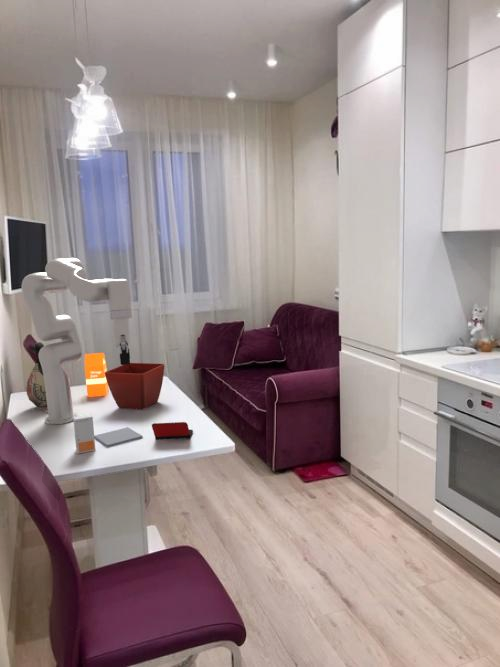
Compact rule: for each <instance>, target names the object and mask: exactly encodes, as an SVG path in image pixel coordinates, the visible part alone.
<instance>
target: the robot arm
mask: <svg viewBox="0 0 500 667" xmlns="http://www.w3.org/2000/svg"><path fill="white" fill-rule="evenodd" d="M44 270H45V271H43V272H33V273H30V274H28V275H26V276H25V277H24V278H23V279H22V282H21V292H22V296H23V299H24V301H25V302H26V305H27V306H28V309H29V311H30V316H31V320H32V324H33V326H34V330H35V334H36V335H37V337H38V339H39V340H40V341H42V342H48V341H49V342H50V341H56V340H60V339H61V341H59V342H52V343H49V344H46V345H44V347H42V348H41V349H40V351H39V361H40V364H41V367H42V370H43V375H44V383H45V391H46V399H47V408H48V409H47V417H45V419H44V423H45V424H47V425H62V424H67V423H71V422H74V420H73V417H74V416H78V414H77V413H76V412H74V409H73V398H72V391H71V390H72V389H71V381H70V375H69V373H68V372H67V370H66V369H65V368H64V366H66V365H70V364H73V363H77V362H79V361H80V360H82V357H83V347H82V346H83V345H82V343H81V339H80V335H79V332H78V331H79V330H78V328H77V325H76V322H75V321H74V319H73V318H72V317H71V316H70V315H67V314H60V315H59V314H58V315H56V314H55V311H54V308H53V305H52V303H51V302H50V300H48V298H47V297H45V296H44V295H46V294H47V295H48V294H54V293H63V292H65V291H67V290H69V292H70V293H71V294H72V296H74V297H75V298H77V299H79V300H82V301H85V302H88V303H93V302H101V301H108V307H109V309H108V310H109V319H110V321H112V320H113V331H114V332H113V334H114V342H115V348H116V349H117V348H118V347H119V352H120V353H119V361H120V366H122V365H127V364H130V363H131V355H130V354H131V353H130V348H129V346H131V326H130V319H132V318H133V311H132V310H133V309H132V302H131V290H130V283H129V280H128V279H126V278H117V279H115V278H114V279H113V278H103V279H101V278H100V279H92V280H91V279H90V280H88V273H87V271H86V269H85V267H84V264H83V263H82V261H81V260H79V259H78V258H74V257H70V258H69V257H67V258H64V257H63V258H55V259H52V260H49V261H48V262H47V263H46V264H45V268H44Z"/></svg>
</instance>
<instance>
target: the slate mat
mask: <svg viewBox="0 0 500 667" xmlns="http://www.w3.org/2000/svg"><path fill="white" fill-rule="evenodd" d="M94 439H95V440H96V441H98V442H100V443H101V444H102V445H103V446H105V447H106V448H110V447H114V446H118V445H121V444H125V443H129V442H133V441H136V440H141V439H143V435H142V434H140V433H139V432H137V431H136V430H133V429H132V428H130V427H128V426H127V427H123V428H119V429H116V430H112V431H107V432H103V433H99V434H96V435H95V434H94Z"/></svg>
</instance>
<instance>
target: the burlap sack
mask: <svg viewBox="0 0 500 667" xmlns="http://www.w3.org/2000/svg"><path fill="white" fill-rule="evenodd" d="M44 346H45V345H44V343H43V342H39V341H37V342H36V343H35V344H34V345H31V346H30V351H31V352H32V353H34V354H35V364H34V366H33V368H32V370H31V372H30V373H29V374H30V375H29V377H28V380H27V384H26V395H27V398H28V400H29V401H30V402H31V403H32V404H33V405H34V406H35V407H36V408H37V410H48V408H47V399H46V391H45V383H44V375H43V370H42V367H41V364H40V361H39V351H40V349H41V348H42V347H44Z"/></svg>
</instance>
